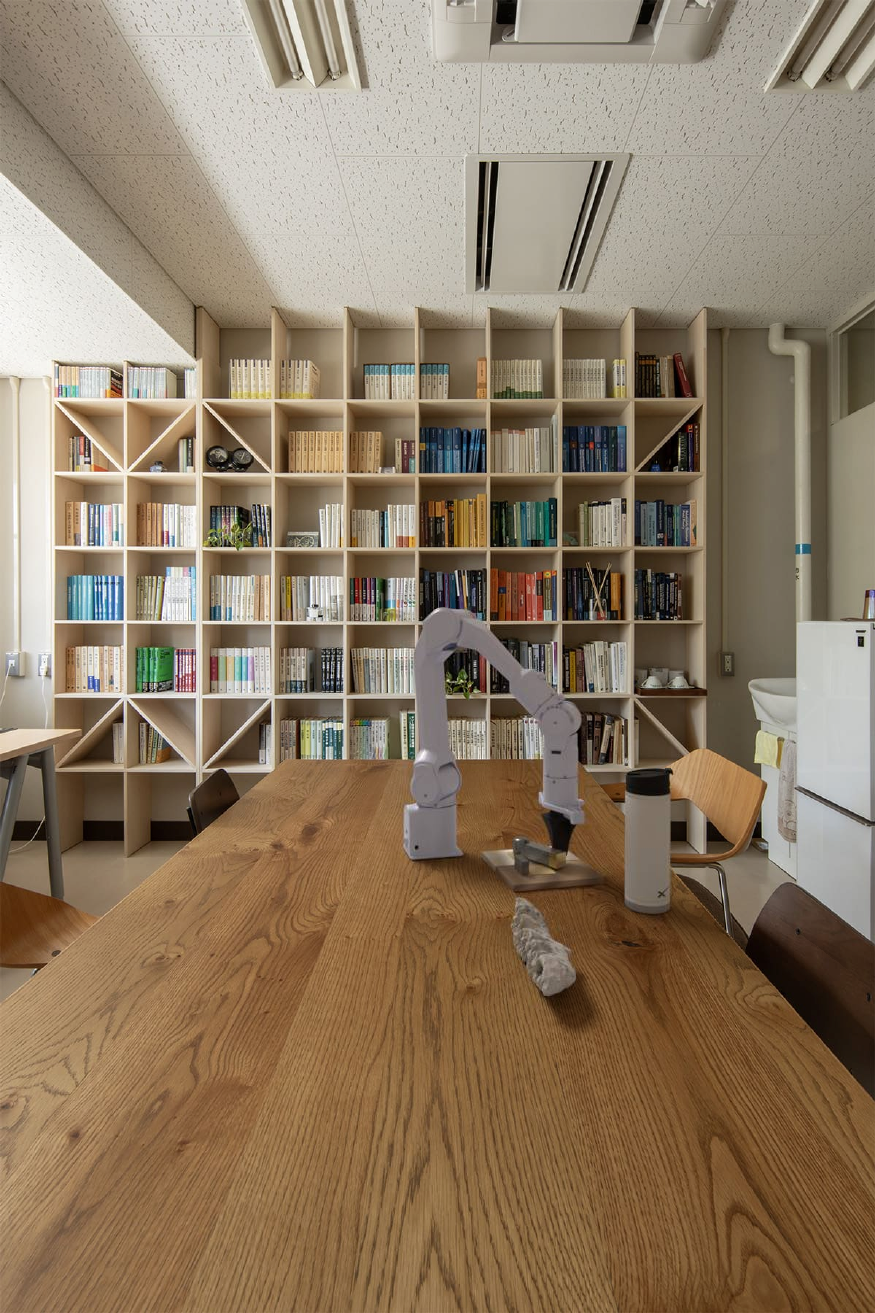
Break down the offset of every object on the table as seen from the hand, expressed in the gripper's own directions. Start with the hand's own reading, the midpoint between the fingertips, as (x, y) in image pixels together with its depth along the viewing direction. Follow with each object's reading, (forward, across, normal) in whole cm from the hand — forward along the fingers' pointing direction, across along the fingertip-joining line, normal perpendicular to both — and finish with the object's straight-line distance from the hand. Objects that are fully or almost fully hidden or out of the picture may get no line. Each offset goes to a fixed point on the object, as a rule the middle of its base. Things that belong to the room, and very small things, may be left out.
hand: (560, 856), depth 117 cm
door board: (+2, 0, +4) cm, 4 cm away
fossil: (+2, -32, +16) cm, 35 cm away
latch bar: (+1, +2, +3) cm, 4 cm away
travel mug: (+2, -18, -6) cm, 19 cm away
